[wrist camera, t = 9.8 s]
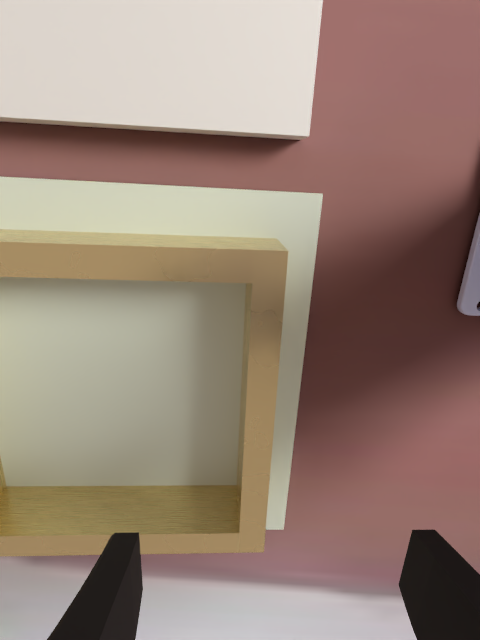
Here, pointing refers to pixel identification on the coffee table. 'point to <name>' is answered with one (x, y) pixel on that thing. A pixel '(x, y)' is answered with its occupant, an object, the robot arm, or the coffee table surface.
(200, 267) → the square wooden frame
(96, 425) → the mat
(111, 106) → the post stand
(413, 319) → the coffee table surface
